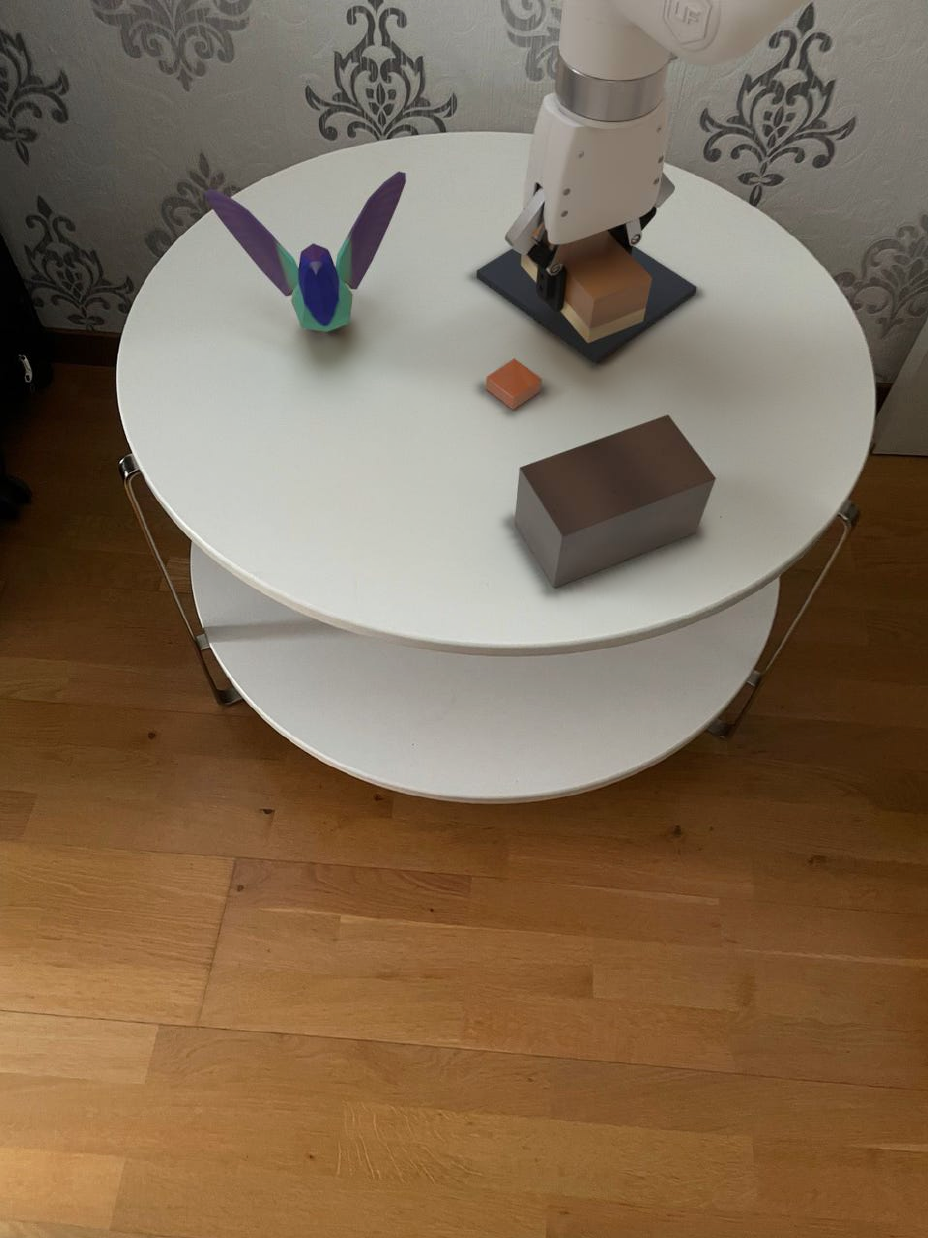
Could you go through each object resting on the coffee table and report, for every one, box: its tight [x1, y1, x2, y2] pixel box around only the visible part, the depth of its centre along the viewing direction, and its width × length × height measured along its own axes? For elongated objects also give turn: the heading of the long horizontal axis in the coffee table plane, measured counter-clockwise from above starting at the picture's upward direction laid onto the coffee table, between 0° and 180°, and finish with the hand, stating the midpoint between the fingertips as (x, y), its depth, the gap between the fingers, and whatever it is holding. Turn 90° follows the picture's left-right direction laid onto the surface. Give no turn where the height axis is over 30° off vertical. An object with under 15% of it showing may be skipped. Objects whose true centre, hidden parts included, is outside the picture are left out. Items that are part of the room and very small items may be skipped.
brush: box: [521, 222, 652, 343], centre depth 79 cm, size 11×6×4 cm, turn 28°
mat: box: [476, 245, 698, 365], centre depth 91 cm, size 16×14×1 cm
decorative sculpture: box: [204, 171, 407, 333], centre depth 81 cm, size 17×18×15 cm
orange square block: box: [485, 358, 543, 411], centre depth 84 cm, size 4×4×2 cm
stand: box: [514, 414, 717, 589], centre depth 74 cm, size 13×7×7 cm, turn 115°
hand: (581, 287), depth 81 cm, fingers closed on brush, 5 cm apart
